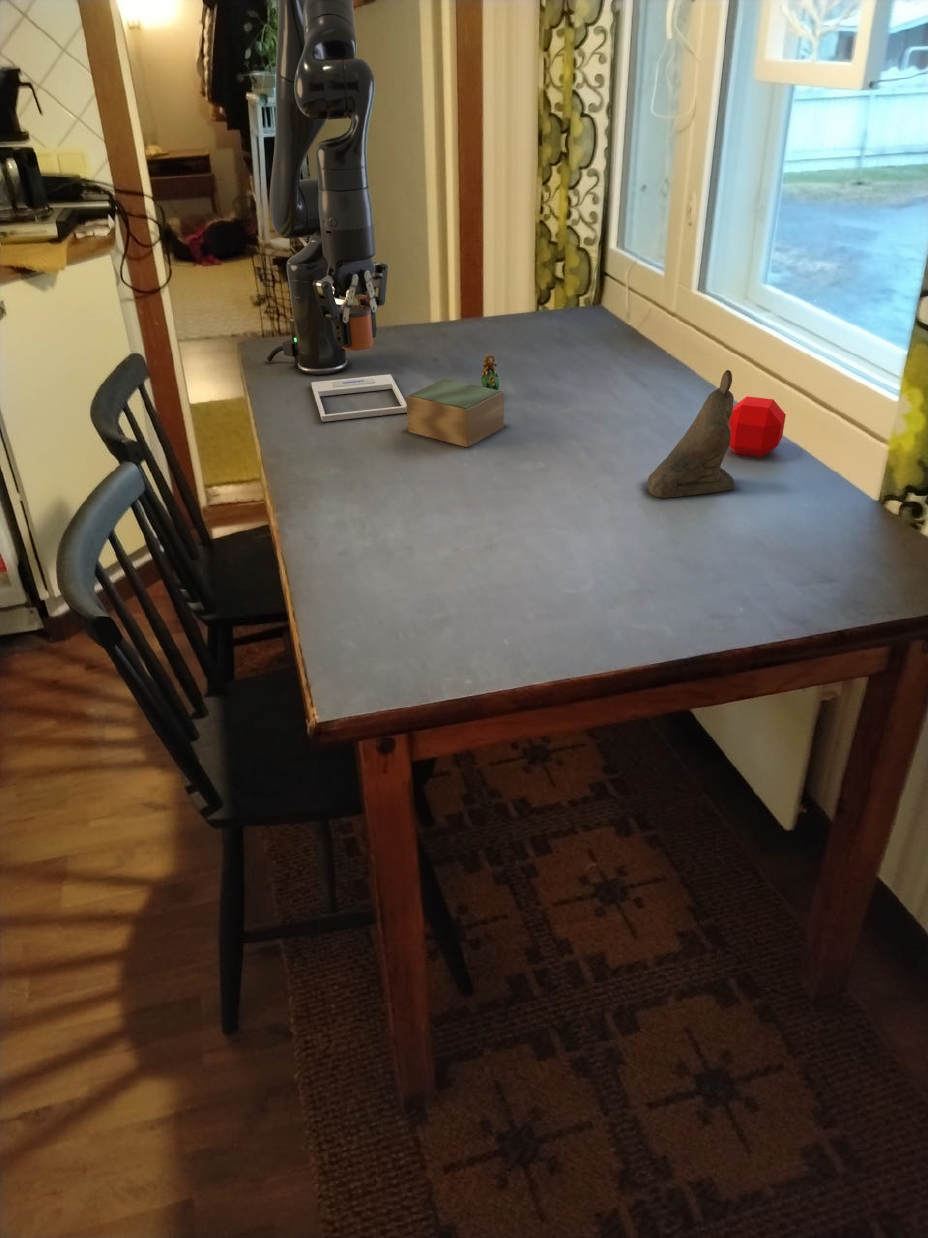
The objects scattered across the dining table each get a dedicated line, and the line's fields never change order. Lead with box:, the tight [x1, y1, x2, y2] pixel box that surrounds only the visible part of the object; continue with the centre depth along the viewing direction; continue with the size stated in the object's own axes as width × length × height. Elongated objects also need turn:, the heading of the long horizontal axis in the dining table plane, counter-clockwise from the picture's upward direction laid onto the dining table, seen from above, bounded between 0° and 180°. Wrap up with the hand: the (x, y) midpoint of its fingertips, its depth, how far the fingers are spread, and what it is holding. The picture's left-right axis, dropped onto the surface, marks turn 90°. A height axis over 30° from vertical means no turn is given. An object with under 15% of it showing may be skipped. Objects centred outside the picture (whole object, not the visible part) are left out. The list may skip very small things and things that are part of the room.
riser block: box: [405, 378, 505, 448], centre depth 154 cm, size 12×10×6 cm
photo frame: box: [311, 373, 407, 422], centre depth 168 cm, size 15×1×18 cm
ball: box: [729, 395, 787, 458], centre depth 143 cm, size 8×8×8 cm
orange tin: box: [339, 304, 374, 351], centre depth 143 cm, size 5×5×5 cm
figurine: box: [480, 354, 500, 391], centre depth 164 cm, size 3×12×8 cm, turn 5°
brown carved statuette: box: [647, 369, 735, 499], centre depth 131 cm, size 12×6×18 cm, turn 97°
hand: (356, 341), depth 144 cm, fingers closed on orange tin, 4 cm apart
